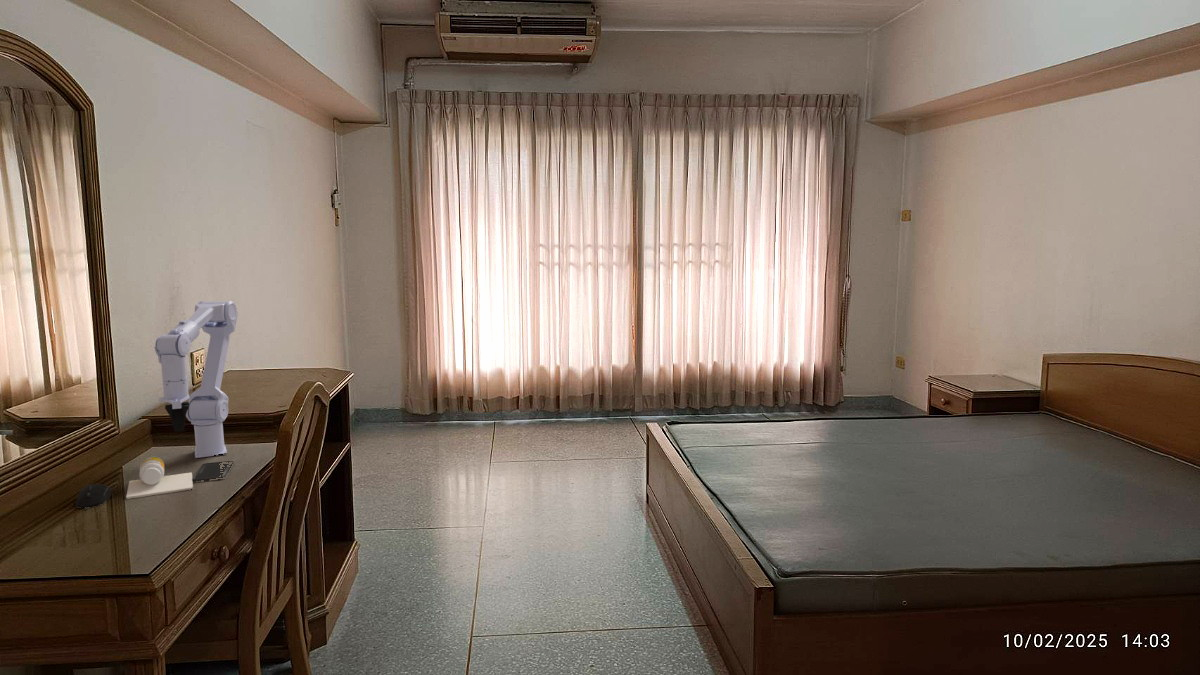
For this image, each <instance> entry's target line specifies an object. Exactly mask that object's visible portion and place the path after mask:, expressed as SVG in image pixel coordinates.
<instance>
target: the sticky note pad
mask: <svg viewBox="0 0 1200 675" xmlns="http://www.w3.org/2000/svg"><path fill="white" fill-rule="evenodd" d="M192 478H193V472H191V471H190V472H184V473H177V474H172V475H171V474H169V475H164V476H163V478H162V479H161V480H160V481H159V482H157V483H155V484H152V485H150V484H146V483H144V482H143V481H142V480H141V479H140V478H139V479H136V480H129V482H128V485H127V491H126V498H125V499H126V500H130V499H137V498H144V497H149V496H150V497H151V496H157V495H164V494H165V495H166V494H170V493H176V492H185V491H191V489H192V490H194V484H193V483H194V482H193V481H192Z"/></svg>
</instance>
